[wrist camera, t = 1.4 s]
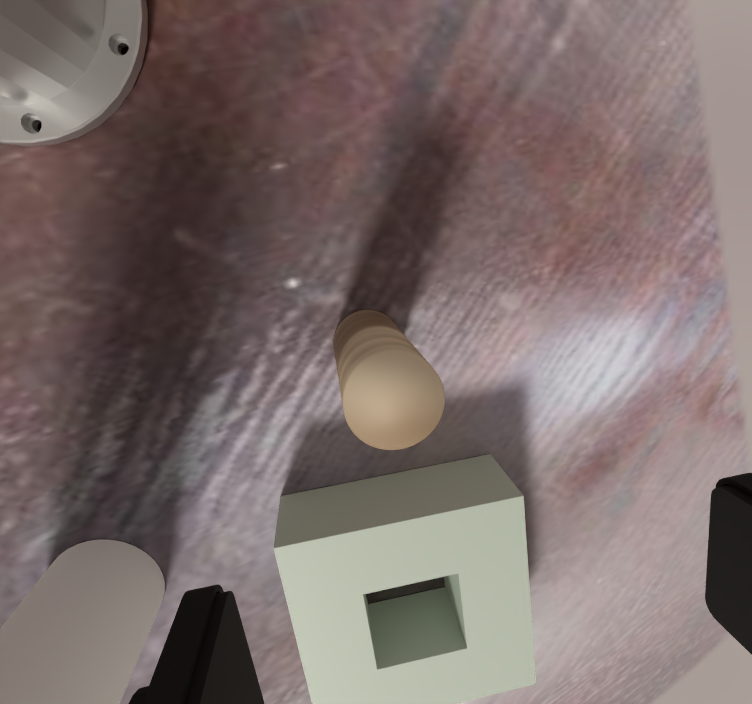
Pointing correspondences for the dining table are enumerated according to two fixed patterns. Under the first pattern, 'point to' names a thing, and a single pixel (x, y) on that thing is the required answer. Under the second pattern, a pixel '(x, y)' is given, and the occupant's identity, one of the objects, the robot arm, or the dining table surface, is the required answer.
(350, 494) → the socket block
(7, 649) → the cylindrical container
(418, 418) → the maple peg
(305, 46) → the dining table surface
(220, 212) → the dining table surface
